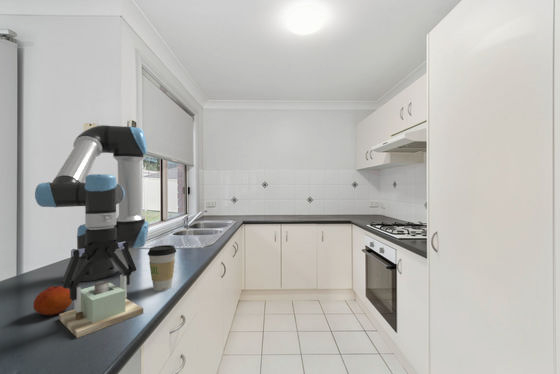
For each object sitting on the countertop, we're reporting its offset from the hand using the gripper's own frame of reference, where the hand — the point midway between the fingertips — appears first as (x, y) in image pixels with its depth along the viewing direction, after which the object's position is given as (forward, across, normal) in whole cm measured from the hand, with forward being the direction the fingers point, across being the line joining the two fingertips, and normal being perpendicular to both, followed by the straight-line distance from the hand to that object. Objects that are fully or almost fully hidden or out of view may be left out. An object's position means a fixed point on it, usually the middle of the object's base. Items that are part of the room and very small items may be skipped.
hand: (101, 303), depth 76 cm
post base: (+4, 0, 0) cm, 4 cm away
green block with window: (+2, 0, 0) cm, 2 cm away
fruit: (+4, -8, +15) cm, 17 cm away
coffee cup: (+4, +22, +7) cm, 23 cm away
